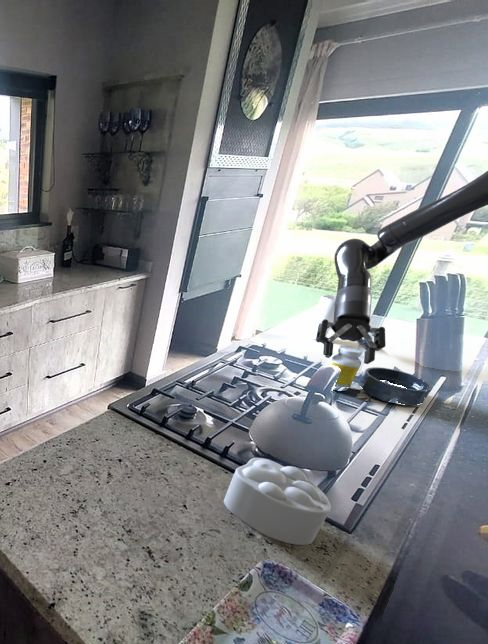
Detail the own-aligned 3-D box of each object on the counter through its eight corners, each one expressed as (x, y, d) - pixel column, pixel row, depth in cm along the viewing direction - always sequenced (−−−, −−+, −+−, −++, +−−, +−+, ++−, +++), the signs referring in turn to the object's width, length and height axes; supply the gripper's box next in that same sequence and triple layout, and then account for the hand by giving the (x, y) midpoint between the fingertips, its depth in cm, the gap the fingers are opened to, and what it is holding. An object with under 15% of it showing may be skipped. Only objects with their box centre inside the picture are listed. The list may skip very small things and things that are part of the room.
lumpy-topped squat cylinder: (247, 482, 77) (262, 446, 73) (325, 528, 68) (348, 490, 64) (216, 503, 72) (231, 466, 68) (296, 557, 63) (319, 517, 59)
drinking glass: (307, 340, 142) (325, 299, 135) (302, 333, 148) (318, 293, 141) (330, 343, 140) (349, 301, 133) (323, 336, 146) (341, 296, 139)
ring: (428, 398, 107) (438, 382, 105) (413, 413, 101) (424, 396, 98) (366, 378, 117) (374, 363, 115) (349, 390, 110) (357, 374, 108)
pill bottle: (349, 395, 108) (369, 356, 103) (319, 388, 111) (337, 350, 106) (345, 385, 113) (364, 347, 108) (317, 379, 116) (334, 342, 111)
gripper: (328, 295, 110) (322, 349, 106) (393, 303, 105) (390, 359, 101) (315, 308, 117) (309, 359, 113) (376, 316, 112) (372, 369, 108)
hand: (348, 359), depth 107 cm, fingers open, 8 cm apart
